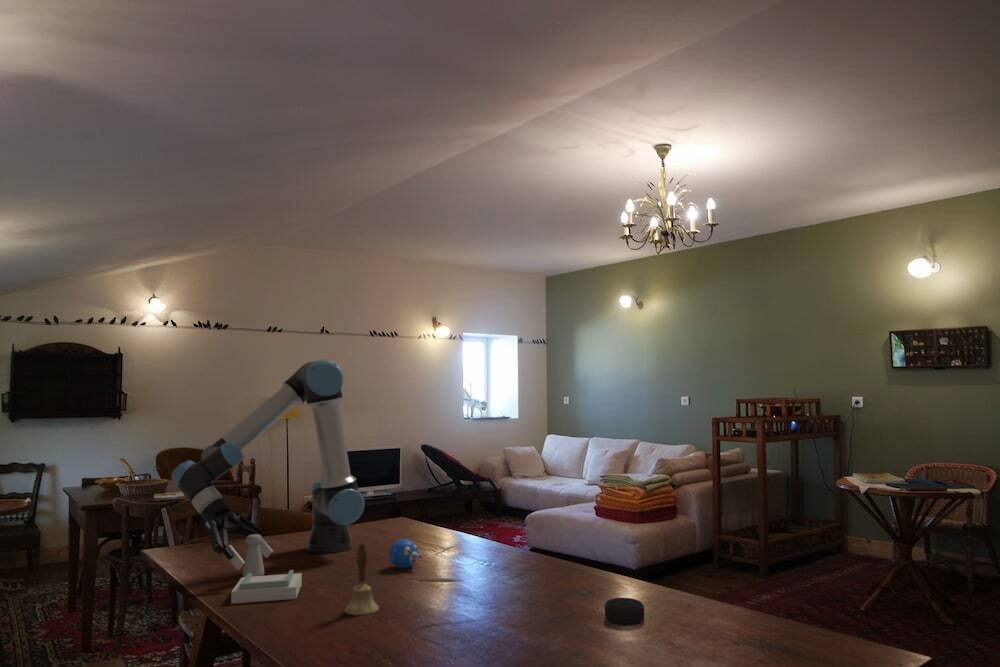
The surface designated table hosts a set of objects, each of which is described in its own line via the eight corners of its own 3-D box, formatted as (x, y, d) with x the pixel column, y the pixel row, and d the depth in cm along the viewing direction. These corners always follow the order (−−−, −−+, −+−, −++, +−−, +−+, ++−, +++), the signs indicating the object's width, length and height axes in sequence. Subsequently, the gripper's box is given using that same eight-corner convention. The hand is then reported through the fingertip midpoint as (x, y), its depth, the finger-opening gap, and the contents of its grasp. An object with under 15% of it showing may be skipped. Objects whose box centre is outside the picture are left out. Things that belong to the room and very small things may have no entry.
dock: (301, 584, 191) (301, 567, 191) (296, 598, 177) (296, 581, 177) (241, 588, 188) (241, 571, 188) (231, 603, 174) (231, 585, 174)
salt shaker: (246, 578, 197) (246, 533, 199) (266, 578, 198) (266, 532, 199) (240, 584, 192) (240, 537, 193) (261, 583, 192) (261, 536, 193)
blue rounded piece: (407, 575, 196) (407, 546, 197) (379, 570, 204) (379, 541, 204) (436, 566, 206) (435, 538, 207) (408, 561, 213) (407, 534, 214)
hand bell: (385, 606, 169) (384, 540, 170) (368, 617, 161) (367, 548, 162) (355, 603, 171) (355, 539, 173) (337, 614, 164) (337, 546, 165)
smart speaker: (652, 624, 152) (651, 606, 152) (615, 629, 149) (615, 610, 149) (633, 612, 160) (632, 595, 160) (598, 616, 157) (598, 599, 158)
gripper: (230, 507, 212) (272, 558, 207) (173, 522, 188) (219, 581, 183) (245, 490, 211) (288, 541, 206) (190, 503, 187) (236, 561, 182)
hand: (256, 560), depth 195 cm, fingers open, 13 cm apart
